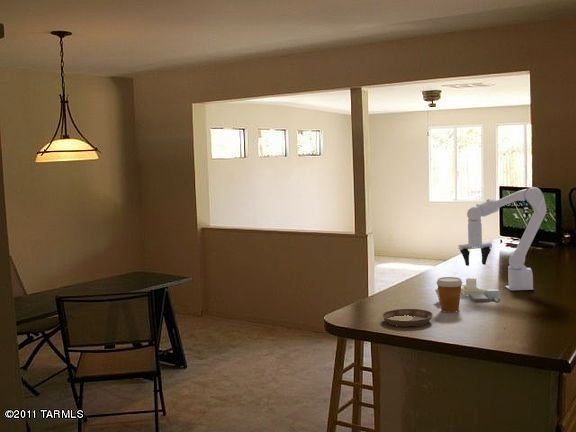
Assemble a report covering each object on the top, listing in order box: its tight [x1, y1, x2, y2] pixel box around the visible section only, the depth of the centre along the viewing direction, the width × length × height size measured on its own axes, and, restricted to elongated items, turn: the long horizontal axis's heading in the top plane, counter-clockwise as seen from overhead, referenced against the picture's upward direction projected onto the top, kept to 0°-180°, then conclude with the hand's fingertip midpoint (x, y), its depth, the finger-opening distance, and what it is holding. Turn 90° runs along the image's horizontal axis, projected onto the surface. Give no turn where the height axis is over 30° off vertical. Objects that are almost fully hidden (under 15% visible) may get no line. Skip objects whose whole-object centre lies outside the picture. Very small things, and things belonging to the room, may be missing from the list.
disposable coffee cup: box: [435, 276, 464, 313], centre depth 226 cm, size 10×10×12 cm
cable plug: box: [484, 288, 500, 303], centre depth 240 cm, size 4×8×4 cm, turn 177°
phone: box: [468, 293, 490, 303], centre depth 242 cm, size 6×9×1 cm, turn 177°
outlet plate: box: [460, 284, 485, 296], centre depth 256 cm, size 8×12×2 cm, turn 177°
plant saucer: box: [381, 308, 434, 327], centre depth 214 cm, size 18×18×3 cm
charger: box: [465, 277, 478, 290], centre depth 254 cm, size 4×4×7 cm
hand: (475, 264), depth 265 cm, fingers open, 7 cm apart
